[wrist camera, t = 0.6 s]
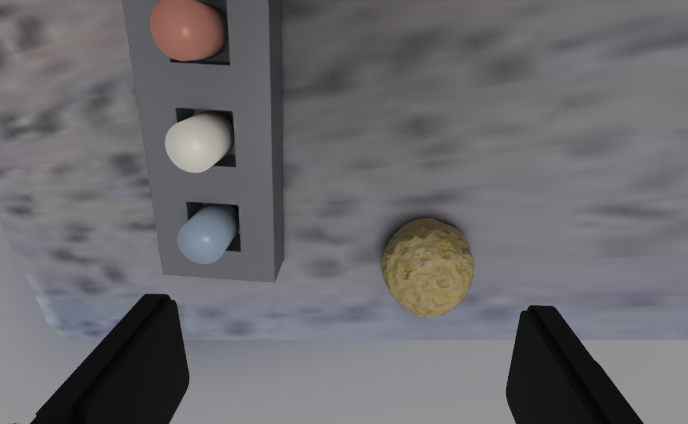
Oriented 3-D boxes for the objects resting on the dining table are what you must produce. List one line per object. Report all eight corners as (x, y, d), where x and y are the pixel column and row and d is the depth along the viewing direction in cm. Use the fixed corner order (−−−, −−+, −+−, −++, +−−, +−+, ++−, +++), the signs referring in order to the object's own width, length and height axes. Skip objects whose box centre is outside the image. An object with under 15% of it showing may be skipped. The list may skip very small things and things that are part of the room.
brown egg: (175, 1, 34) (145, -5, 30) (227, 3, 34) (205, -3, 29) (181, 56, 36) (154, 59, 31) (230, 59, 36) (210, 62, 31)
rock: (384, 268, 51) (406, 344, 45) (362, 218, 43) (386, 303, 36) (458, 244, 50) (491, 319, 44) (452, 188, 42) (492, 271, 35)
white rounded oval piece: (187, 109, 38) (161, 119, 33) (233, 112, 37) (214, 122, 33) (191, 155, 39) (168, 171, 35) (236, 158, 39) (218, 174, 35)
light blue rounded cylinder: (196, 199, 41) (174, 220, 37) (239, 202, 41) (222, 223, 36) (200, 238, 43) (179, 262, 38) (241, 241, 43) (225, 265, 38)
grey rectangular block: (146, -46, 36) (113, -59, 31) (280, -40, 36) (267, -52, 31) (182, 251, 48) (163, 274, 43) (283, 259, 47) (274, 282, 43)
